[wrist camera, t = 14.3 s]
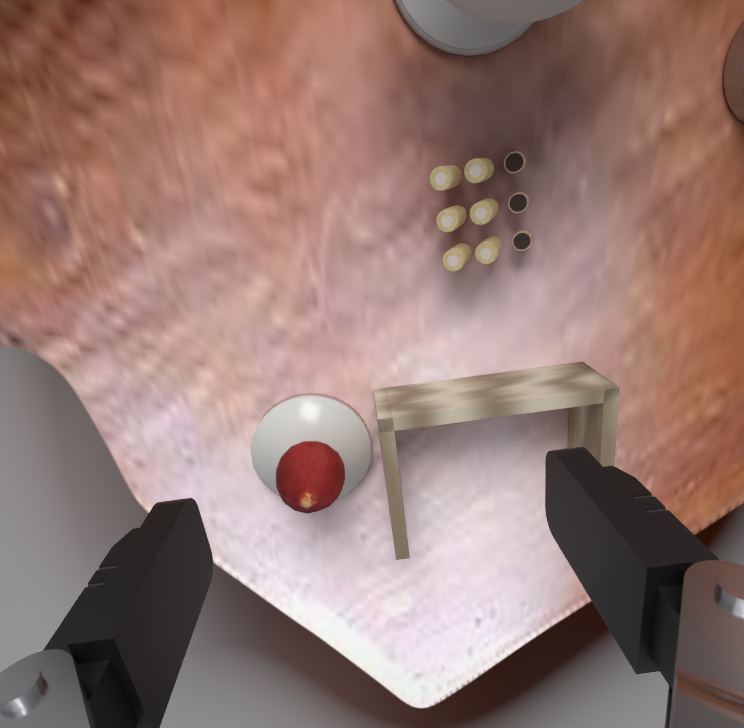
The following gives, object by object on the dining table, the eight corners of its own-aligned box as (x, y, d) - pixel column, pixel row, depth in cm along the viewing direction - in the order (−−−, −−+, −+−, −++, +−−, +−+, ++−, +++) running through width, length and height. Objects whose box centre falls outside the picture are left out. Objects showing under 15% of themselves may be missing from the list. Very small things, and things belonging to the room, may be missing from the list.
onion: (333, 487, 44) (330, 546, 37) (274, 470, 43) (258, 528, 36) (353, 435, 43) (355, 487, 35) (292, 416, 42) (280, 465, 34)
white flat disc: (363, 385, 42) (363, 391, 41) (377, 488, 46) (378, 495, 45) (242, 402, 42) (239, 407, 41) (266, 503, 46) (264, 511, 45)
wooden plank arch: (582, 361, 42) (619, 387, 37) (578, 491, 47) (609, 531, 42) (373, 389, 42) (377, 419, 37) (390, 516, 47) (396, 559, 42)
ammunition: (446, 274, 35) (552, 251, 34) (429, 168, 32) (544, 142, 32) (434, 266, 39) (529, 245, 39) (419, 172, 37) (519, 149, 36)
